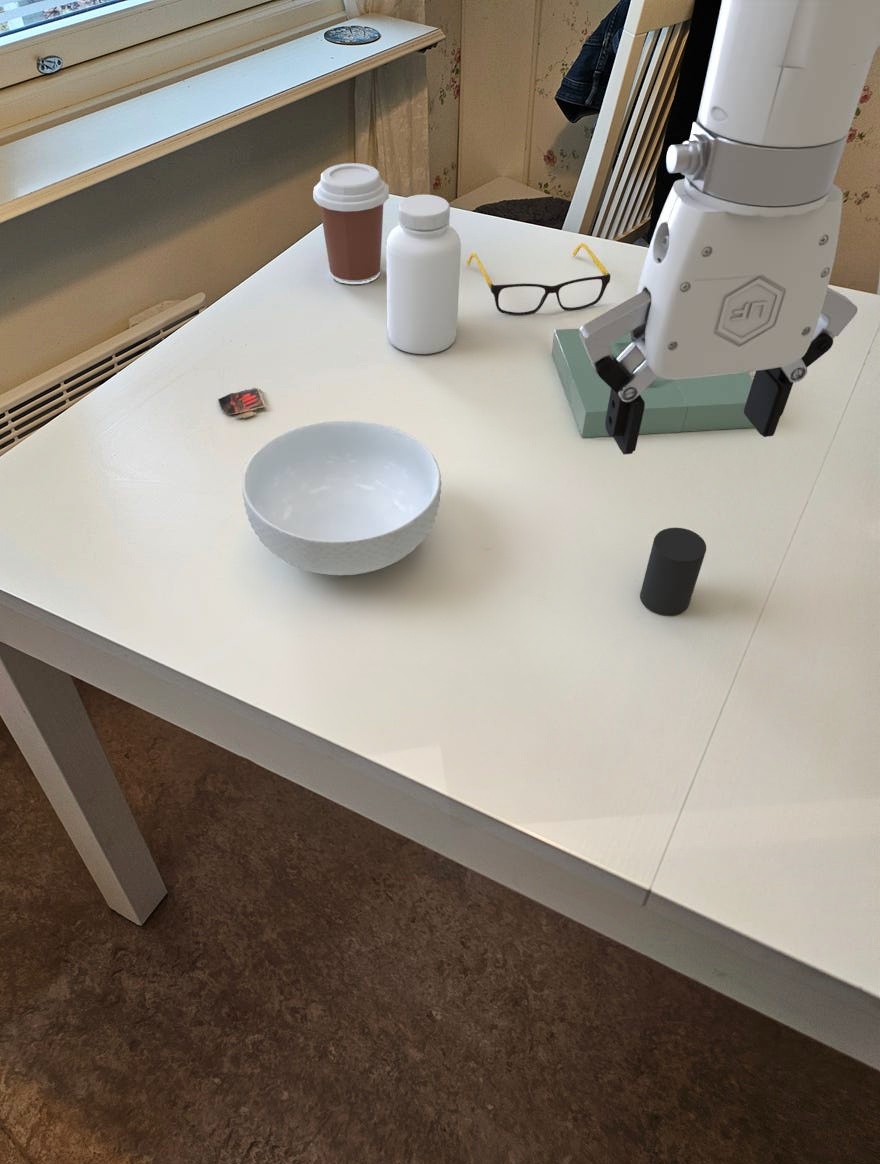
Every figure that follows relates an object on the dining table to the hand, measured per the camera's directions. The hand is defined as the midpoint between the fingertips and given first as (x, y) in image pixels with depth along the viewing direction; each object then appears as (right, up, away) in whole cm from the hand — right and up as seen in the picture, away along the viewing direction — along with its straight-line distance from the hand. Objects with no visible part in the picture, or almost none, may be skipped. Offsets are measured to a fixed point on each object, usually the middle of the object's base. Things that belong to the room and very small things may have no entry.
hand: (689, 433), depth 60 cm
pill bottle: (-17, +21, +43) cm, 51 cm away
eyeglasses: (-3, +30, +51) cm, 59 cm away
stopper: (+2, -10, +14) cm, 18 cm away
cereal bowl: (-24, -5, +20) cm, 32 cm away
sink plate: (+7, +13, +35) cm, 38 cm away
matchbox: (-36, +11, +34) cm, 51 cm away
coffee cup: (-25, +33, +54) cm, 68 cm away
